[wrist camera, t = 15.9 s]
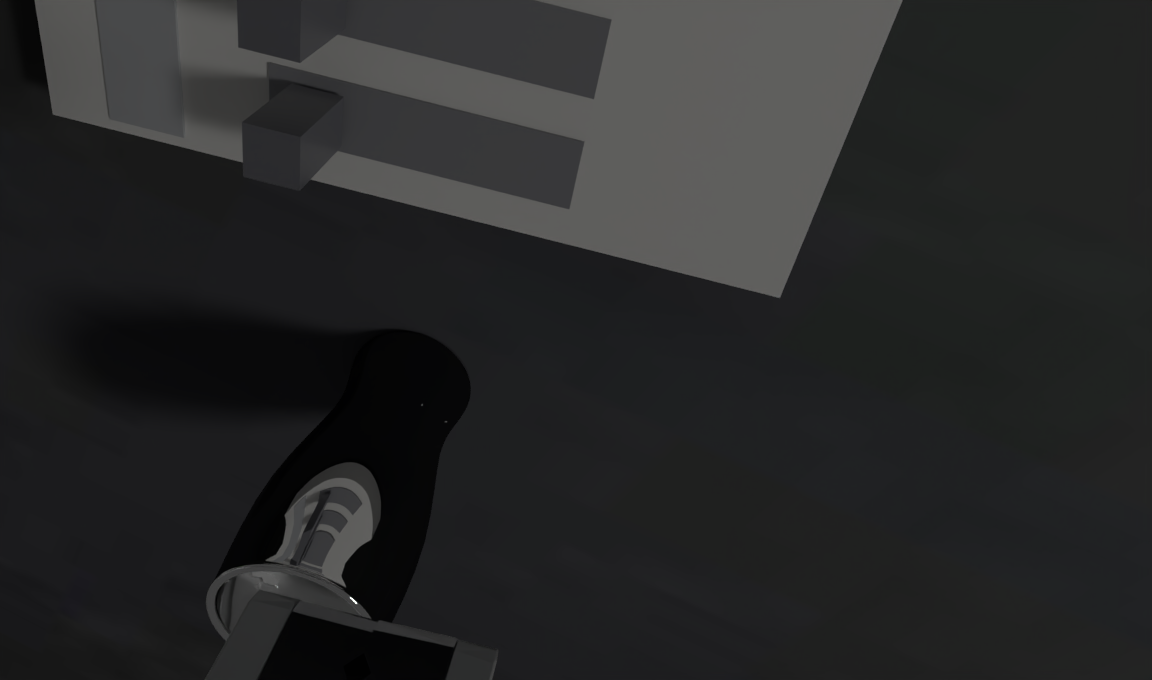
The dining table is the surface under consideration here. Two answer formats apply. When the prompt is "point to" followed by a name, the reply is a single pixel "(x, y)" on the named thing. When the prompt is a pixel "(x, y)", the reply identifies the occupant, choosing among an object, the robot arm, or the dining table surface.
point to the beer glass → (352, 490)
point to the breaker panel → (511, 111)
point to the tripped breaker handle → (289, 26)
